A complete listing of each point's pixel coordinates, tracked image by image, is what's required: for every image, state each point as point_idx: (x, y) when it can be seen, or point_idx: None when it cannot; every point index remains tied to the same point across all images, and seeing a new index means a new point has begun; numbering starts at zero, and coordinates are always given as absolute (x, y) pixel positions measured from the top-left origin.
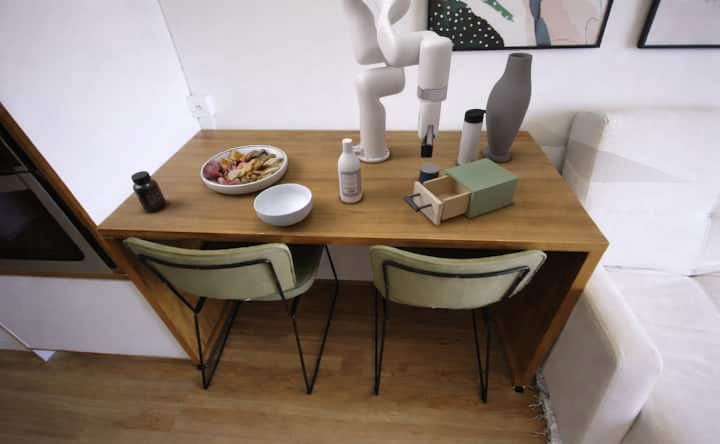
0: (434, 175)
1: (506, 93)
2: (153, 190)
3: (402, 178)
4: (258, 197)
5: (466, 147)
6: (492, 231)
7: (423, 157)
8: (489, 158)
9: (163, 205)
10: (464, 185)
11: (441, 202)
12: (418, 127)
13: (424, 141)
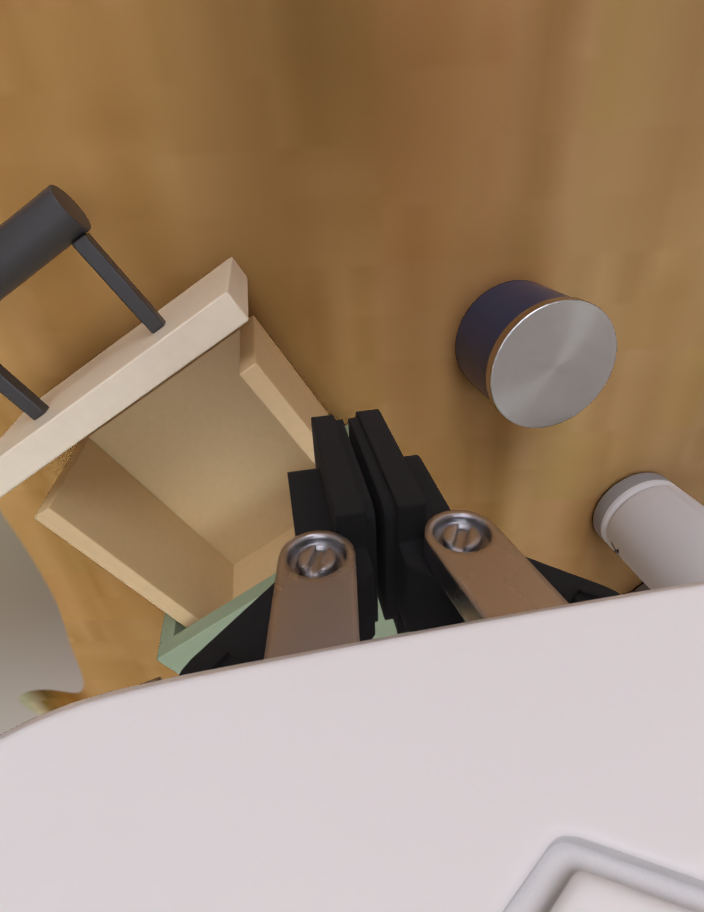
0: (485, 391)
1: None
2: None
3: (549, 155)
4: None
5: (682, 572)
6: (109, 610)
7: (313, 443)
8: (646, 588)
9: None
10: (228, 609)
11: None
12: (441, 863)
13: (275, 632)
